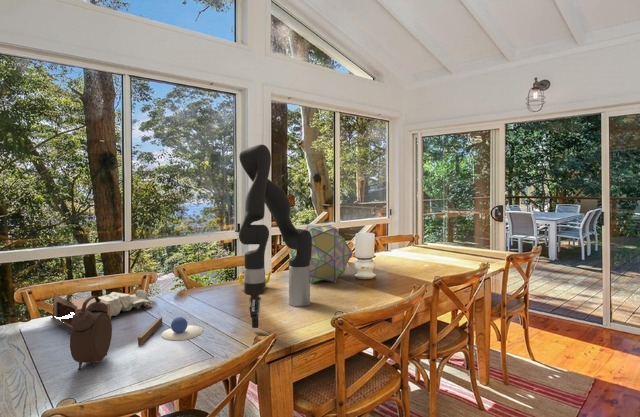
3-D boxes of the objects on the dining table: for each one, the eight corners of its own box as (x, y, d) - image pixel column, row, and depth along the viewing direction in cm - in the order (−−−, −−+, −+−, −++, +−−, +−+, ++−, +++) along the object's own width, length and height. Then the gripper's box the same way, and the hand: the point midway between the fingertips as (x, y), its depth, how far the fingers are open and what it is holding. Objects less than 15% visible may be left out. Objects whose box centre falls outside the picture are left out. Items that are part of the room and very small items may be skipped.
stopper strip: (162, 323, 152) (162, 317, 152) (141, 344, 132) (141, 337, 132) (159, 323, 152) (158, 317, 152) (138, 344, 132) (137, 337, 132)
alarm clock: (91, 353, 126) (88, 291, 125) (114, 352, 126) (112, 290, 125) (65, 375, 111) (62, 305, 110) (92, 374, 112) (89, 304, 111)
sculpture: (282, 281, 216) (282, 226, 214) (314, 271, 240) (314, 222, 238) (328, 290, 199) (328, 230, 197) (358, 278, 223) (358, 225, 221)
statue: (161, 312, 167) (161, 289, 166) (66, 335, 142) (65, 308, 141) (138, 300, 183) (137, 279, 183) (49, 318, 158) (48, 294, 158)
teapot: (274, 287, 204) (273, 268, 204) (256, 293, 193) (256, 273, 192) (253, 284, 212) (253, 265, 211) (235, 289, 200) (235, 270, 200)
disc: (206, 325, 150) (206, 324, 150) (197, 340, 136) (197, 339, 136) (168, 326, 150) (168, 325, 150) (155, 341, 136) (155, 340, 136)
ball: (171, 324, 146) (183, 333, 146) (165, 328, 140) (178, 338, 140) (180, 312, 146) (192, 321, 146) (175, 316, 140) (187, 325, 140)
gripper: (263, 284, 137) (264, 334, 138) (266, 275, 150) (267, 320, 151) (241, 284, 136) (242, 334, 137) (246, 275, 149) (247, 321, 151)
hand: (255, 327), depth 144 cm, fingers closed
